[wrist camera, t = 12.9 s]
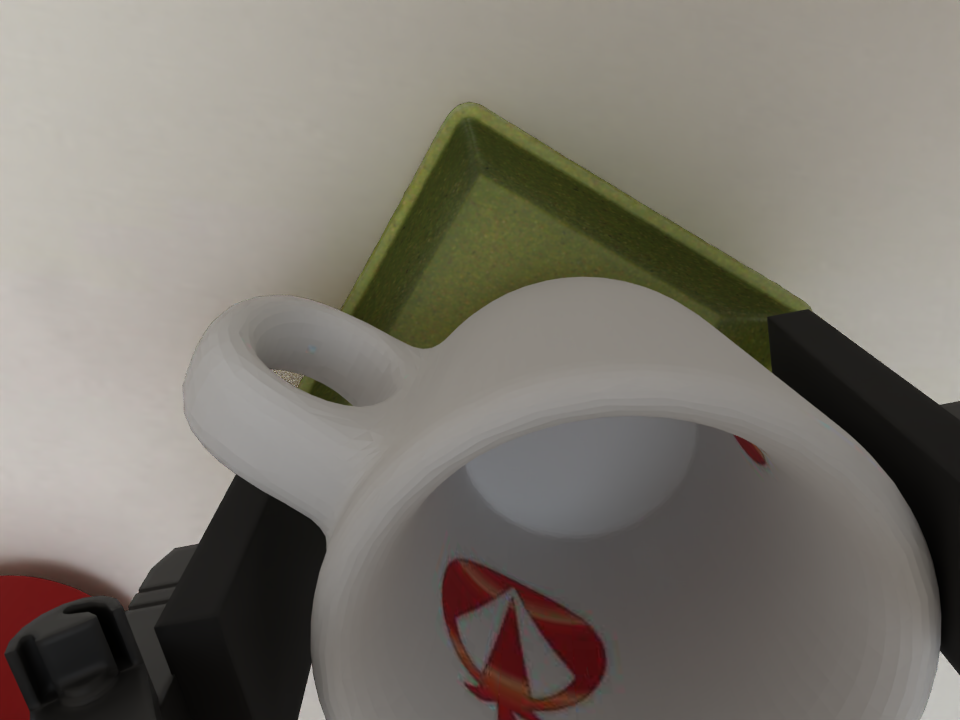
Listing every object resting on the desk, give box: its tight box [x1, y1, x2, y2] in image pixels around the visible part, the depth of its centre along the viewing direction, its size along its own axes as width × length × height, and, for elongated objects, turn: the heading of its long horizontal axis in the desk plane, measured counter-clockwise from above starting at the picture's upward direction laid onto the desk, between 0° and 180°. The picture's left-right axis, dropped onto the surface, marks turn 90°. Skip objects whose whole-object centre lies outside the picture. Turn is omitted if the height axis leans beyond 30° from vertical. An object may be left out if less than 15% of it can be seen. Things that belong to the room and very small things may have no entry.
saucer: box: [297, 102, 812, 406], centre depth 19 cm, size 9×9×2 cm
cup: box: [183, 277, 941, 720], centre depth 14 cm, size 11×8×8 cm
